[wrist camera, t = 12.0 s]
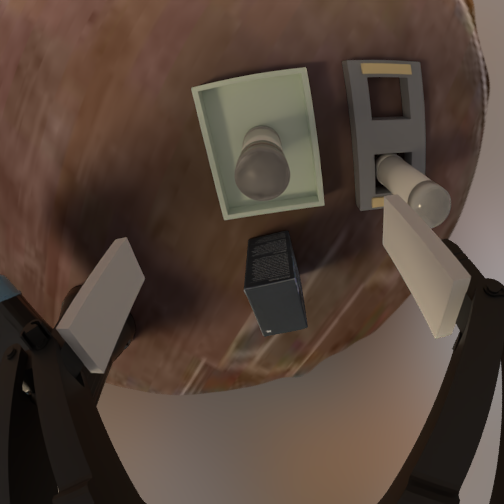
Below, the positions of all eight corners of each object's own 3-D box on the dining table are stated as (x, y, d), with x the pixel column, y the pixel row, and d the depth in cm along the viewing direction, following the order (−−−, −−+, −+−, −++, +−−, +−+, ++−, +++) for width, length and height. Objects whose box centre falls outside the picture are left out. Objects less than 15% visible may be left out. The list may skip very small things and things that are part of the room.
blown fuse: (247, 163, 33) (240, 205, 23) (239, 128, 31) (229, 154, 21) (283, 157, 33) (293, 196, 23) (277, 122, 31) (285, 144, 20)
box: (300, 274, 43) (308, 329, 34) (262, 283, 44) (261, 337, 35) (288, 228, 39) (296, 279, 30) (247, 238, 40) (242, 290, 31)
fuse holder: (416, 196, 35) (424, 204, 33) (355, 203, 36) (361, 212, 34) (411, 62, 25) (421, 62, 23) (341, 61, 27) (347, 60, 24)
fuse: (372, 184, 34) (412, 230, 24) (371, 152, 32) (416, 188, 22) (401, 181, 34) (448, 225, 24) (401, 150, 32) (453, 185, 22)
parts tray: (320, 197, 36) (324, 205, 34) (226, 211, 37) (224, 220, 35) (303, 68, 27) (306, 67, 25) (196, 87, 29) (191, 87, 27)
